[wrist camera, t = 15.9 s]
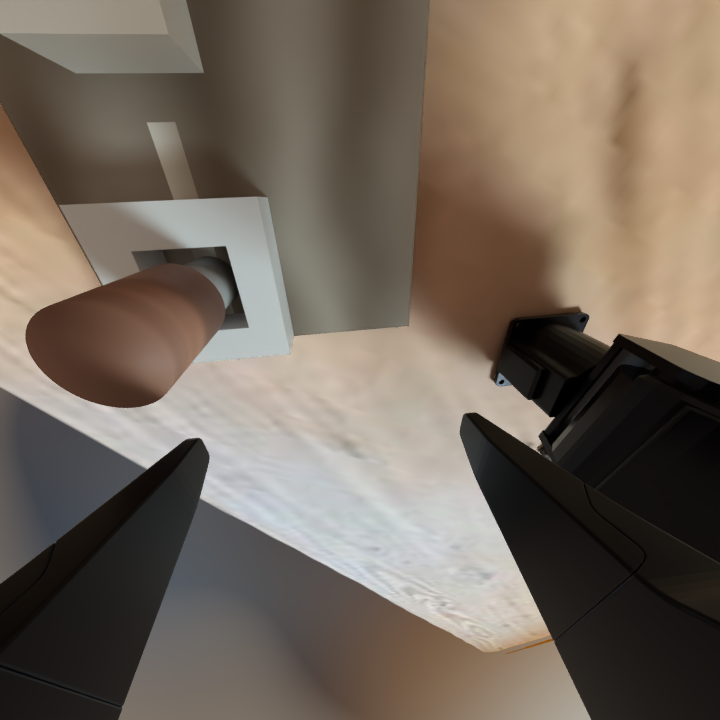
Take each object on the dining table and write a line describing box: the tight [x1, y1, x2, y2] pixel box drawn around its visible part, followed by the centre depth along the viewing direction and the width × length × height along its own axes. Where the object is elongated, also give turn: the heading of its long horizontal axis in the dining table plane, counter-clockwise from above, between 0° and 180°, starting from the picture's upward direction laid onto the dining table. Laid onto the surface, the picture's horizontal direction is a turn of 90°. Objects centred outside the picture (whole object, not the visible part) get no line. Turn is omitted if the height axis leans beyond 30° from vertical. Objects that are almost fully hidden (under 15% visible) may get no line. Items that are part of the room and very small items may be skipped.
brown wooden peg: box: [26, 256, 239, 408], centre depth 12 cm, size 4×4×9 cm
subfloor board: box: [0, 0, 429, 336], centre depth 13 cm, size 18×22×2 cm
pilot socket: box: [59, 197, 294, 363], centre depth 14 cm, size 8×8×2 cm
